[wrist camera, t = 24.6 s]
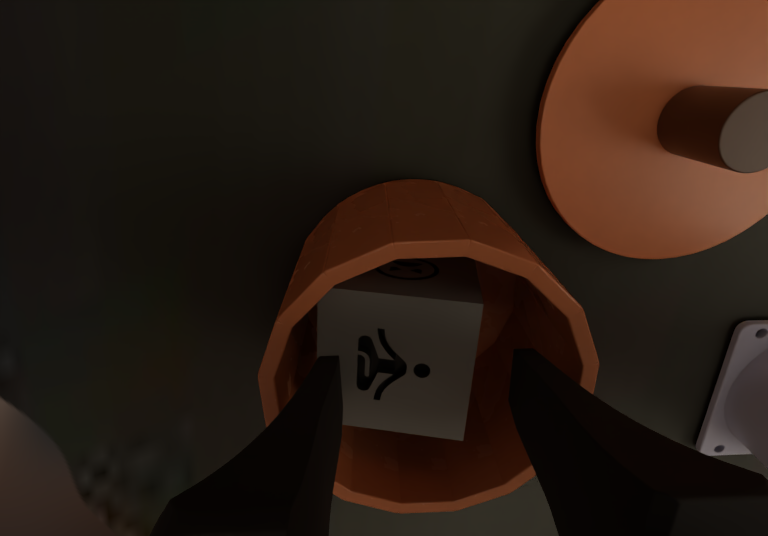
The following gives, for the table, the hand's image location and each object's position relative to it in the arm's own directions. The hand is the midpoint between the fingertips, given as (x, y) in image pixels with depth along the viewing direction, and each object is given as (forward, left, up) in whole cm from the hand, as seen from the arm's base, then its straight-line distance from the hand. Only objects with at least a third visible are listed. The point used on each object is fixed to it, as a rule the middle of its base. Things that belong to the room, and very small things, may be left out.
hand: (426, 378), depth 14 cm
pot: (0, 0, -6) cm, 6 cm away
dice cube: (0, 0, -5) cm, 5 cm away
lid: (-10, -7, -6) cm, 13 cm away
